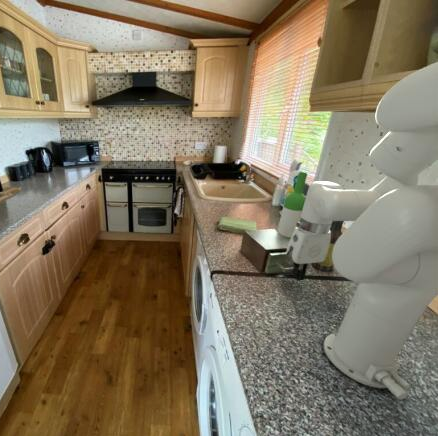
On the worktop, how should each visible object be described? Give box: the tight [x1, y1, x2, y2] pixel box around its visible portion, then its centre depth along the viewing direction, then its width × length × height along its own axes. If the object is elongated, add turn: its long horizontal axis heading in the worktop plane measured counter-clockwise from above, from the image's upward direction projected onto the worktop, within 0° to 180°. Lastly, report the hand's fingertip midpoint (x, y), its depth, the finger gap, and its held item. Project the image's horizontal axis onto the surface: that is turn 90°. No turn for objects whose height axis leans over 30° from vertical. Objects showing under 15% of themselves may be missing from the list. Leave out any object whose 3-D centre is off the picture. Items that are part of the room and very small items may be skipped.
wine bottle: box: [276, 171, 308, 240], centre depth 101 cm, size 8×8×30 cm
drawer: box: [264, 250, 294, 275], centre depth 86 cm, size 18×11×7 cm, turn 9°
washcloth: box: [217, 216, 258, 235], centre depth 117 cm, size 13×18×3 cm
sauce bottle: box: [312, 221, 345, 271], centre depth 84 cm, size 6×6×20 cm
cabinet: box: [240, 228, 290, 273], centre depth 90 cm, size 15×13×9 cm
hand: (297, 277), depth 76 cm, fingers closed
